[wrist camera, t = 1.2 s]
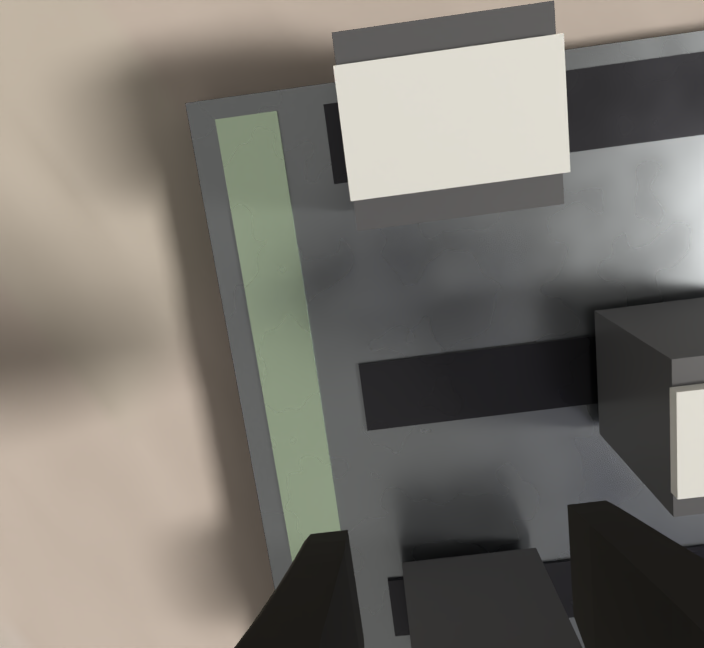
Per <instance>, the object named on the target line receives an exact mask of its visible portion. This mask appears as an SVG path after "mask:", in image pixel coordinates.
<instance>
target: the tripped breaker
mask: <svg viewBox="0 0 704 648" xmlns="http://www.w3.org/2000/svg"><path fill="white" fill-rule="evenodd" d="M594 312H595V336H596V360H597V384H598V409H599V433H600V435H601V436H602V437H603V438H604V440H605V441H606V442H607V443H608V444H609V445H610V446H611V447H612V449H613V450H614V451H615V452H616V453H617V454H618V455H619V456H620V458H621V459H622V460H623V461H624V462H625V463H626V464H627V465H628V467H629V468H630V469H631V470H632V471H633V472H634V473H635V474H636V475H637V477H638V478H639V479H640V480H641V481H642V482H643V483H644V484H645V486H646V487H647V488H648V489H649V490H650V491H651V492H652V493H653V495H654V496H655V497H656V498H657V499H658V500H659V501H660V502H661V504H662V505H663V506H664V507H665V508H666V509H667V510H668V511H669V513H670V514H671V515H672V516H673V517H678V516H687V515H696V514H704V297H701V298H693V299H685V300H677V301H669V302H661V303H653V304H645V305H637V306H629V307H621V308H613V309H605V310H597V311H594Z"/></svg>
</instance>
